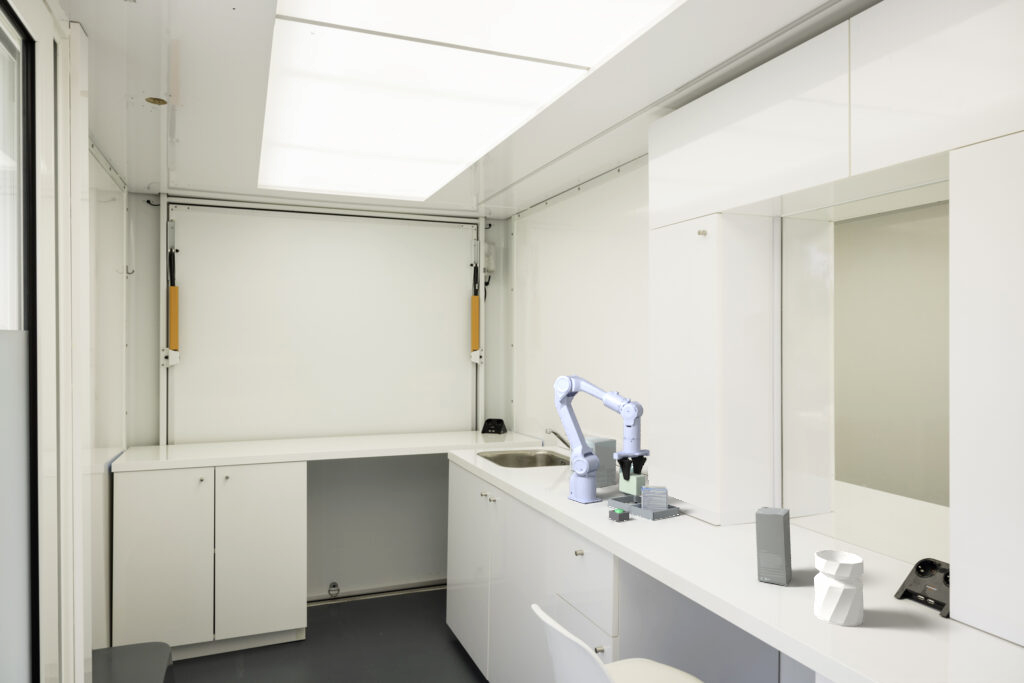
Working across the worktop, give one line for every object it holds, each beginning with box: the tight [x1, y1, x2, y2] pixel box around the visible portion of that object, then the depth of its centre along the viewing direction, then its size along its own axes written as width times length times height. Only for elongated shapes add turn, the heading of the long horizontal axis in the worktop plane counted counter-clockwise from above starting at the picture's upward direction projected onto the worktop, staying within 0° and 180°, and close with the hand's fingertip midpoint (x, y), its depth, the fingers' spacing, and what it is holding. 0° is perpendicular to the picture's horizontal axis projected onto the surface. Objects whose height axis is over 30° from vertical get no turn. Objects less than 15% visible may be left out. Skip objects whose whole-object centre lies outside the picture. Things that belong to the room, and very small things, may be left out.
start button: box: [614, 508, 623, 513], centre depth 197 cm, size 3×3×3 cm
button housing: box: [608, 509, 630, 522], centre depth 197 cm, size 4×4×2 cm
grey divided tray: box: [607, 495, 680, 521], centre depth 208 cm, size 21×12×2 cm, turn 33°
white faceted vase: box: [813, 549, 865, 627], centre depth 126 cm, size 9×9×12 cm
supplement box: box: [569, 435, 617, 489], centre depth 249 cm, size 13×13×18 cm
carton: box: [618, 472, 646, 496], centre depth 212 cm, size 8×4×6 cm, turn 33°
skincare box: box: [754, 506, 793, 587], centre depth 147 cm, size 8×7×16 cm
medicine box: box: [640, 485, 669, 512], centre depth 204 cm, size 8×4×9 cm, turn 84°
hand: (631, 479), depth 212 cm, fingers closed on carton, 4 cm apart
